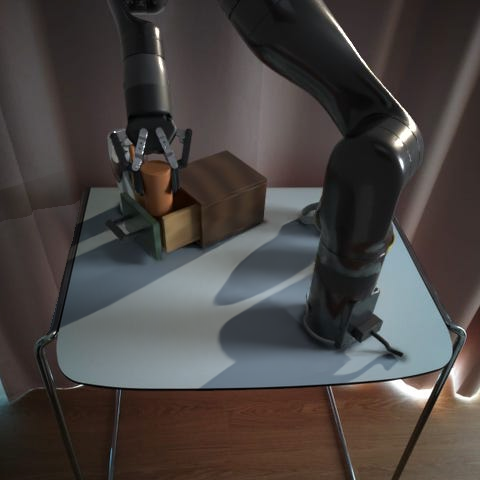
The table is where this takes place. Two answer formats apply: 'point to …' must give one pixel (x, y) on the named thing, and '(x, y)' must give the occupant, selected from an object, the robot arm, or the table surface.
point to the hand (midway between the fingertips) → (158, 193)
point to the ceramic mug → (313, 219)
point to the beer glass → (121, 177)
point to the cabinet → (224, 195)
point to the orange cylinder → (157, 187)
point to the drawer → (158, 224)
